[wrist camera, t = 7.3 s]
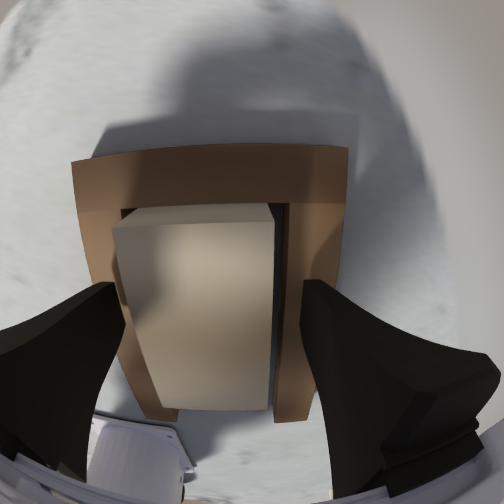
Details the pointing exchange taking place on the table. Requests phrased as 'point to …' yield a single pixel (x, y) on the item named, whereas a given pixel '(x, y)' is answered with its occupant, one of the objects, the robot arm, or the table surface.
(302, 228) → the brown frame section
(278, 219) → the table surface
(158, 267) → the beige rectangular block
